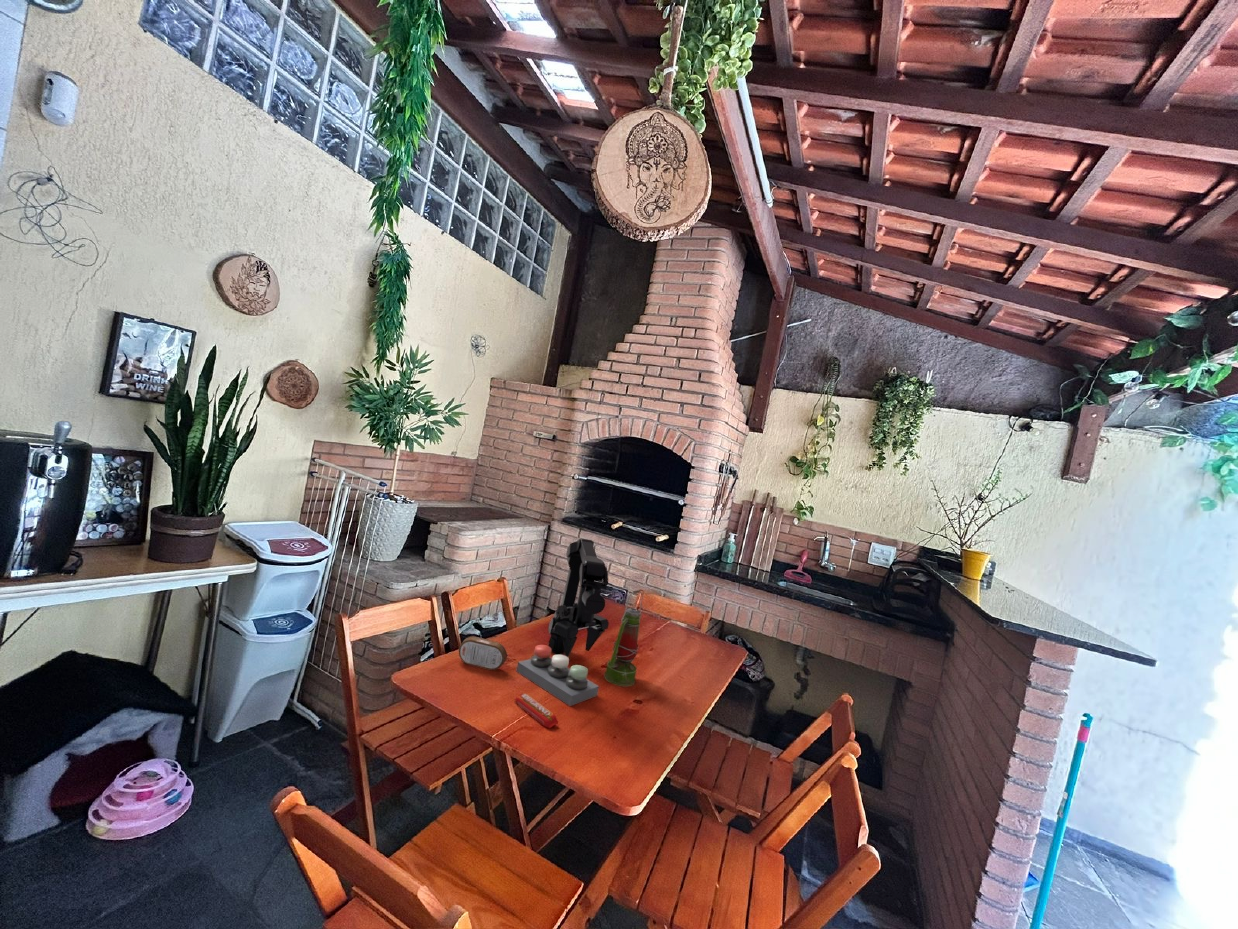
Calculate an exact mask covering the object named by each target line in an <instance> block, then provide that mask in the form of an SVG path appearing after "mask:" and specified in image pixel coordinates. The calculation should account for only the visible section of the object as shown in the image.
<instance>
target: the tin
mask: <svg viewBox="0 0 1238 929" xmlns="http://www.w3.org/2000/svg"><path fill="white" fill-rule="evenodd" d="M458 656H459V658H460V660H461V661H462V662H463V663H465V665H470V666H473V667H477V668H480V667H481V669H484V668H485V669H486V670H489V671H496V670H498V669H500V668H501V667H502V666H504V664H505V662H506V661H507V658H508V652H507V649H506V648H505V646H504V645H503V644H502V643H500V642H498V641H494V640H491V639H490V640H489V639H486V638H482V637H478V636H469V637H466V638H465V639H464V640H463V641H462V642H461V644H459V647H458Z"/></svg>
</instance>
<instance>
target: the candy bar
mask: <svg viewBox="0 0 1238 929" xmlns="http://www.w3.org/2000/svg"><path fill="white" fill-rule="evenodd" d="M514 701H515V702H516V703H517V704H516V703H515V704H516V705H517V706H518V705H519V706H520V708H521V709H522V708H523V709H524V710H525V712H526V713H527V712H528V713H529V716H531V717H532V716H533V717H532V718H533V719H534V720H536V721H537V722H539V723H540V724H541V725H542V726H543V727H545V728H548V729H551V728H553V727H554V726H556V725H558V724H559V720H558V718H557V715H555V714H554V713H553V712H552V711H550V710H549V709H548V708H547V707H545V706H544V705H542V704H541V703H540V702H538V701H537V700H536V699H534V698H533V697H532V696H531V695H529V694H528V693H523V692H522V693H520V694H519V695H518V696H516V698H514ZM519 706H518V707H519ZM523 709H522V710H523ZM524 710H523V711H524ZM528 713H527V714H528Z"/></svg>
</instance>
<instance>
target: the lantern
mask: <svg viewBox="0 0 1238 929" xmlns="http://www.w3.org/2000/svg"><path fill="white" fill-rule="evenodd" d="M634 594H641V601H640V605H639V610H638V609H637V604H635V602H633V603H632V606H631V607H630V608H628V604H629V600H630V597H631V596H632V595H634ZM643 598H644V594H643V592H642V591H641V590H640V589H638V590H633V591H632V592H631V593H630V594H629V596H628V597H627V601H626V605H625V610H624V614H623V615H622V618H621V619H620V622H621V624H620V627H619V630H618V634H617V636H616V641H613V642H612V643H613V648H612V651H613V652H612V655H611V657H610V658H611V659H610V660H608V661H607V663H606V669H605V672H604V675H603V677H604V679H605V680H606V681H607V682H608V683H610V684H613V685H615V686H618V687H632V686H634V684H636V674H637V667H636V665H635V664H633V662H634V660H635V658H636V656H637V655H638V650H639V643H638V640H639V633H640V626H641V625H640V624H641V621H640V620H641V617H642V610H641V609H642V605H643V604H642V602H643ZM634 604H635V606H634Z"/></svg>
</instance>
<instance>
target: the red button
mask: <svg viewBox="0 0 1238 929" xmlns="http://www.w3.org/2000/svg"><path fill="white" fill-rule="evenodd" d="M551 650H552V649H551V648H550V647H549V646H548V645H546V644H538V645H535V646H534V654H533V655H536V656H538V657H541V658H548V657H550V658H551V655H552V652H551Z"/></svg>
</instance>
